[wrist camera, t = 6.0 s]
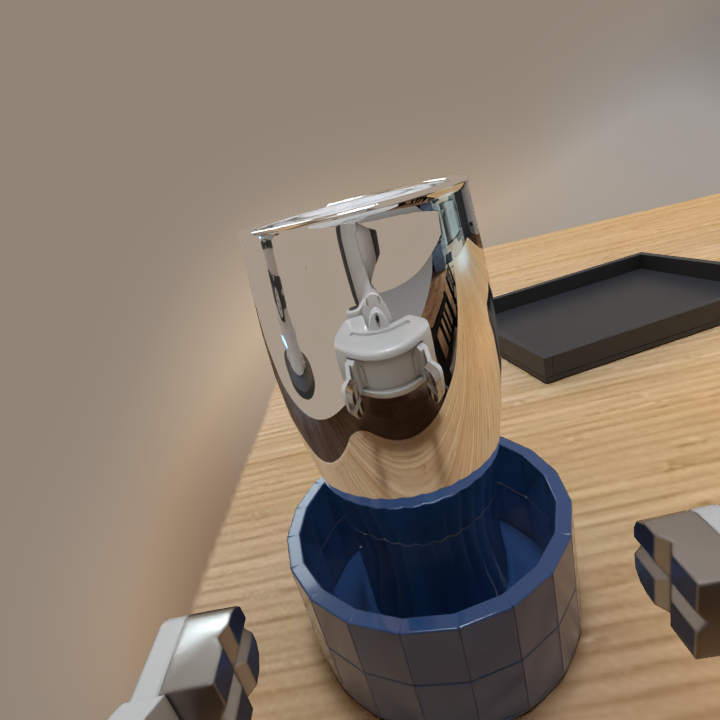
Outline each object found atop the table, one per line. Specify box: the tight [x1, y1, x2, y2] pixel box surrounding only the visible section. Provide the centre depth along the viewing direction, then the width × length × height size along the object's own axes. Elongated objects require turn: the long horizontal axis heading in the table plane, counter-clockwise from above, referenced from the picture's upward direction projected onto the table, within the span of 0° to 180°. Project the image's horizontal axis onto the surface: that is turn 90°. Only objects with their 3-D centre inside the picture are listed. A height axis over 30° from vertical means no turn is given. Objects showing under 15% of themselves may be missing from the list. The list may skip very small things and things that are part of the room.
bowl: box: [287, 436, 581, 720], centre depth 18 cm, size 10×10×4 cm
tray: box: [493, 252, 720, 383], centre depth 40 cm, size 21×15×2 cm
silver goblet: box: [237, 174, 520, 618], centre depth 16 cm, size 7×7×15 cm
